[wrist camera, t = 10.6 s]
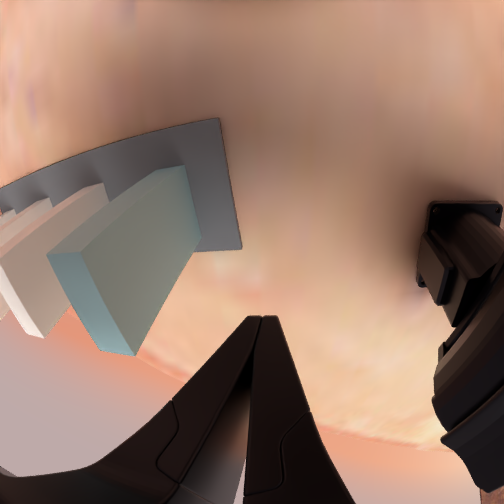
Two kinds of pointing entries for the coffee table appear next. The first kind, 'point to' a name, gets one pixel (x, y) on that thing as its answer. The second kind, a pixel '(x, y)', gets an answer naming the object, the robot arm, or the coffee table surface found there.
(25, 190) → the mat
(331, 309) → the coffee table surface
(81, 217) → the ivory domino
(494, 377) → the robot arm
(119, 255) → the teal domino
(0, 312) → the ivory domino
